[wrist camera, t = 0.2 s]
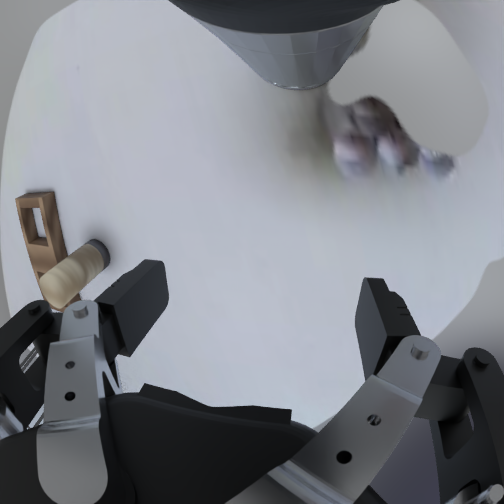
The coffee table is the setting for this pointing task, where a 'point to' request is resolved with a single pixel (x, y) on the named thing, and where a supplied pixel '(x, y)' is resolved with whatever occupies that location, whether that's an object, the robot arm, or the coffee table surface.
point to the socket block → (42, 249)
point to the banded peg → (74, 273)
